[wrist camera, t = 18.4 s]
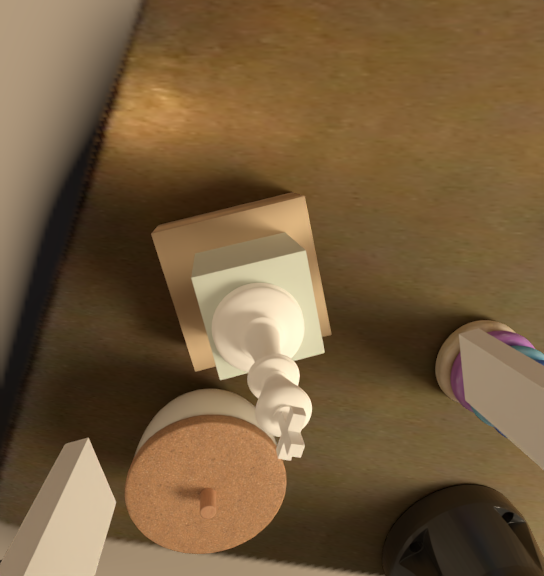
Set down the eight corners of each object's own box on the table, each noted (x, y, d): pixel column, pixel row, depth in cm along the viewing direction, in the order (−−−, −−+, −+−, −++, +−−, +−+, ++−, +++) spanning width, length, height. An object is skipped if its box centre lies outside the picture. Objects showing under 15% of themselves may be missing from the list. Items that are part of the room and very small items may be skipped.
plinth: (317, 315, 33) (331, 334, 29) (196, 347, 32) (195, 371, 29) (292, 192, 30) (304, 196, 26) (158, 224, 29) (151, 233, 25)
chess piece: (201, 358, 22) (195, 506, 12) (224, 272, 21) (238, 362, 11) (288, 375, 23) (343, 523, 13) (314, 294, 22) (396, 393, 12)
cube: (301, 315, 29) (324, 352, 23) (217, 336, 28) (220, 380, 22) (285, 232, 27) (305, 250, 21) (194, 253, 26) (191, 277, 20)
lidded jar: (288, 382, 35) (315, 457, 26) (247, 485, 37) (260, 586, 28) (162, 351, 32) (144, 423, 23) (127, 463, 34) (100, 567, 26)
